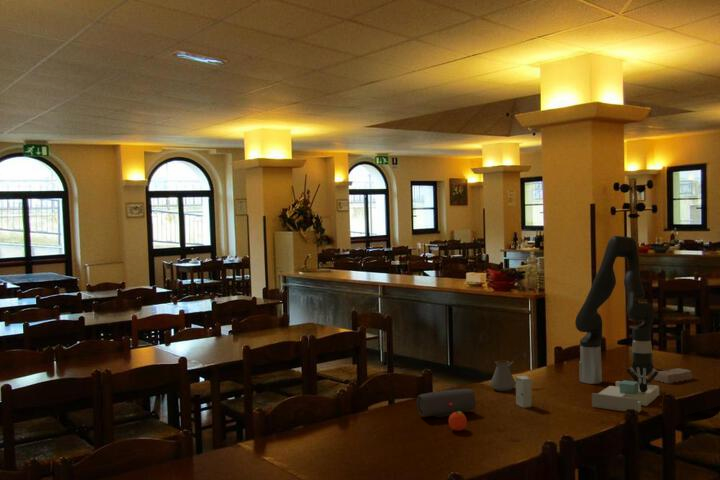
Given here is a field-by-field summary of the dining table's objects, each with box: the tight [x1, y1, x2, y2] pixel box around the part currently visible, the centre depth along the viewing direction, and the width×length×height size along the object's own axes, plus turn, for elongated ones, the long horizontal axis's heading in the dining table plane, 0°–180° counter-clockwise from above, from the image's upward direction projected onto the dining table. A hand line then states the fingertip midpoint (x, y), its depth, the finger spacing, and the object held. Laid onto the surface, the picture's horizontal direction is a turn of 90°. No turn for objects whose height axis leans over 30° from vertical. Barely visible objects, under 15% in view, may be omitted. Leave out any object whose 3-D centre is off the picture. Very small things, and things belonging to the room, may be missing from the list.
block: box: [619, 379, 639, 395], centre depth 276 cm, size 6×6×4 cm
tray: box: [591, 380, 660, 414], centre depth 277 cm, size 18×31×6 cm, turn 141°
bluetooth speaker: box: [416, 388, 477, 418], centre depth 268 cm, size 23×9×10 cm, turn 105°
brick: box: [653, 367, 693, 384], centre depth 308 cm, size 17×8×5 cm, turn 115°
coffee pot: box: [490, 351, 527, 392], centre depth 307 cm, size 21×12×15 cm, turn 125°
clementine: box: [448, 411, 468, 432], centre depth 249 cm, size 8×7×7 cm
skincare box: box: [515, 375, 532, 409], centre depth 277 cm, size 6×4×12 cm
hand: (643, 391), depth 274 cm, fingers closed
